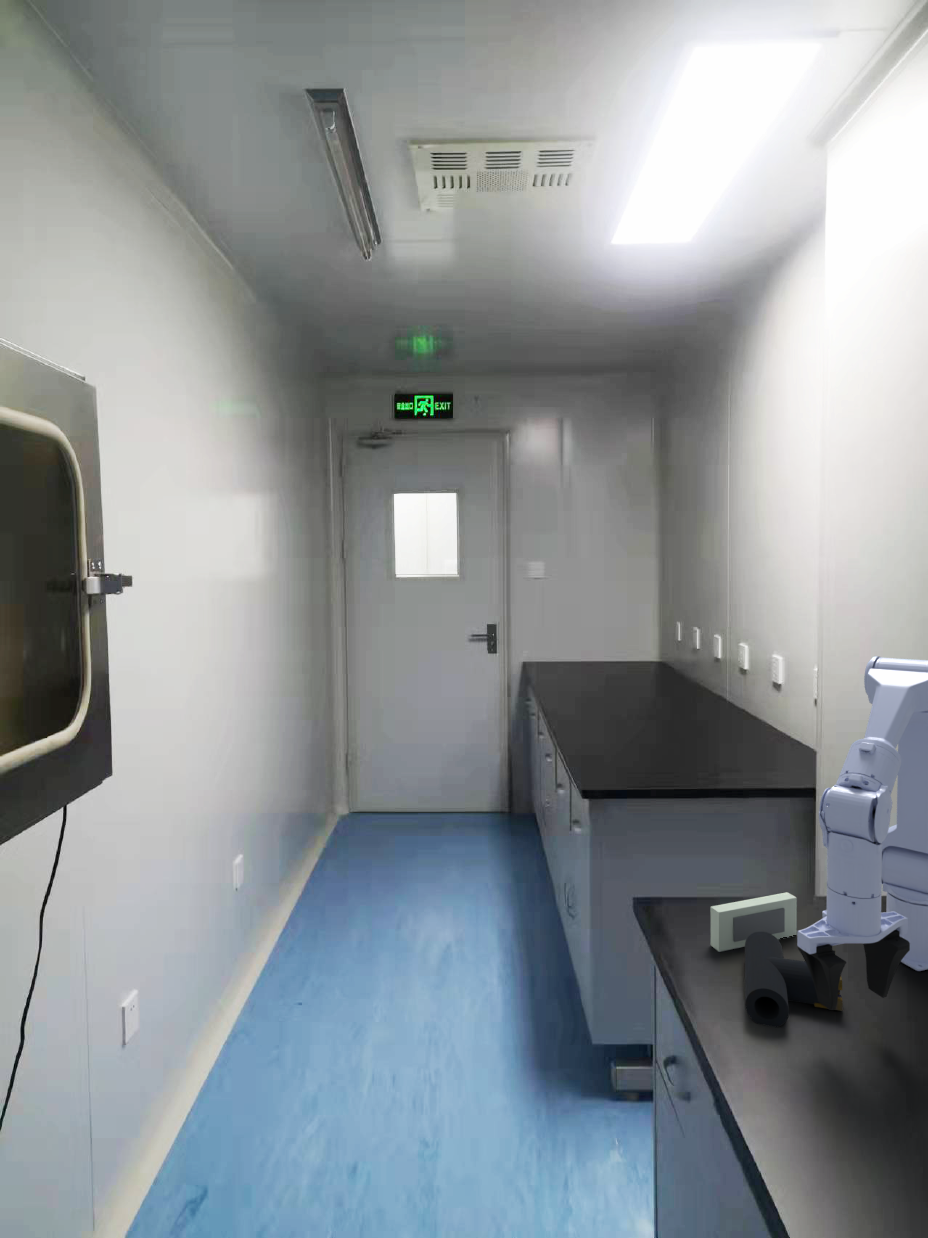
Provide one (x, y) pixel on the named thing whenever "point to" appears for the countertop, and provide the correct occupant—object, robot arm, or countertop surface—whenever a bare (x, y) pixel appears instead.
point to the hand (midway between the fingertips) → (852, 999)
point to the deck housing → (753, 920)
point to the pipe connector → (776, 981)
